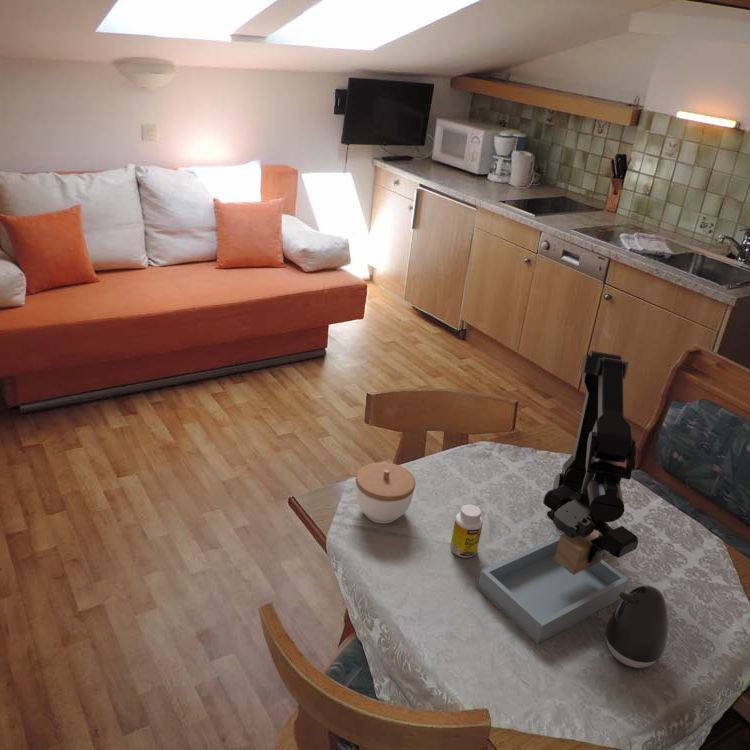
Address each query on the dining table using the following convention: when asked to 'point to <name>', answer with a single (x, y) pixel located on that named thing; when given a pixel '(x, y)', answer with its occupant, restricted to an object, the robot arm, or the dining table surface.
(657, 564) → the dining table surface
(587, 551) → the walnut box
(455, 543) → the supplement bottle
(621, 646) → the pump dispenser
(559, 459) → the dining table surface
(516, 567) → the tray
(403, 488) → the lidded bowl
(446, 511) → the dining table surface
